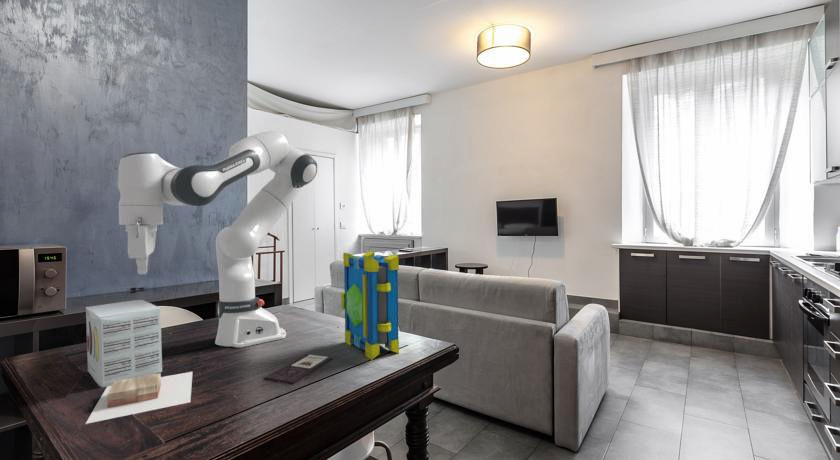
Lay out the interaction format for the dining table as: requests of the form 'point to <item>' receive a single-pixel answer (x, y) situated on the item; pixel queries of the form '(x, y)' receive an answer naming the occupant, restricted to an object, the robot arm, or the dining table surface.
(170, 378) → the mat
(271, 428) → the dining table surface
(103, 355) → the supplement box
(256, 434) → the dining table surface
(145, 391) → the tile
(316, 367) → the chocolate bar
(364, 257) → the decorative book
